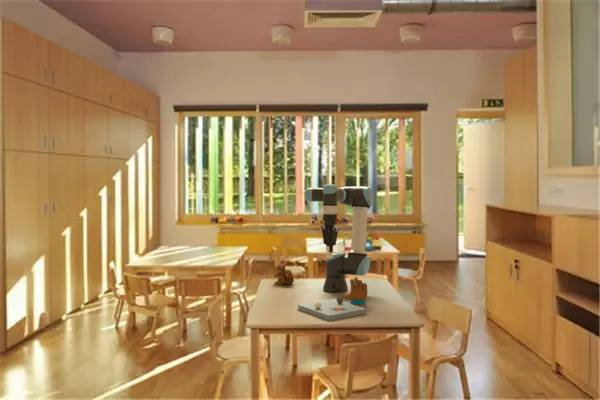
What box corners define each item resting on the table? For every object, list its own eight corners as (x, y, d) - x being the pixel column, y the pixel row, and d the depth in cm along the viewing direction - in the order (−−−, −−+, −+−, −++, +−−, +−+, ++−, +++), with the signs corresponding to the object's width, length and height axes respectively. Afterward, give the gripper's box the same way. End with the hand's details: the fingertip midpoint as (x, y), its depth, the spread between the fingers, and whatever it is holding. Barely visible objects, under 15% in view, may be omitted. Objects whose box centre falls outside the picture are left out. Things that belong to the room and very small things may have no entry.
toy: (343, 304, 273) (344, 276, 272) (347, 301, 280) (347, 274, 279) (365, 305, 269) (365, 278, 269) (368, 303, 276) (368, 276, 275)
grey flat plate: (298, 309, 261) (298, 304, 261) (333, 303, 274) (334, 298, 274) (328, 320, 239) (328, 315, 239) (366, 313, 253) (366, 308, 253)
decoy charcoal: (335, 303, 264) (335, 296, 264) (340, 302, 266) (340, 295, 266) (339, 304, 261) (339, 297, 261) (344, 303, 263) (344, 297, 263)
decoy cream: (313, 308, 253) (313, 301, 253) (318, 307, 255) (318, 300, 255) (317, 309, 251) (317, 302, 250) (322, 308, 253) (322, 301, 252)
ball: (338, 305, 251) (342, 310, 249) (340, 306, 254) (344, 311, 252) (333, 309, 252) (336, 315, 250) (335, 310, 255) (339, 315, 253)
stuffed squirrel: (280, 281, 335) (280, 262, 334) (297, 283, 327) (298, 264, 327) (271, 284, 326) (271, 264, 326) (289, 286, 319) (289, 266, 318)
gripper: (316, 213, 266) (316, 257, 267) (332, 214, 256) (331, 260, 256) (327, 212, 271) (327, 256, 271) (343, 214, 260) (343, 259, 261)
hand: (329, 258), depth 264 cm, fingers closed
